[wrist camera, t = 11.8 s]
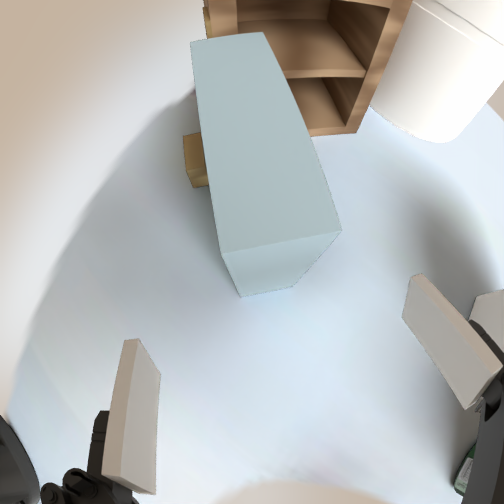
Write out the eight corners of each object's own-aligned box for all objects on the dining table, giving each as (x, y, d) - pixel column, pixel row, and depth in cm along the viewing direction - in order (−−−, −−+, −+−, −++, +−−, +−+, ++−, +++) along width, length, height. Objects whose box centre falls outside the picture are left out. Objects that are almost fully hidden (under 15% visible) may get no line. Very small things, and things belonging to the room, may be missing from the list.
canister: (474, 119, 27) (543, 29, 8) (427, 163, 25) (533, 28, 5) (394, 47, 30) (431, -52, 11) (325, 70, 28) (355, -75, 9)
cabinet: (193, 188, 24) (130, 27, 8) (183, 87, 27) (152, -36, 12) (368, 162, 24) (444, 28, 9) (323, 71, 28) (348, -44, 12)
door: (240, 297, 21) (221, 253, 9) (215, 162, 25) (189, 42, 12) (292, 286, 22) (342, 230, 9) (259, 154, 25) (262, 31, 12)
